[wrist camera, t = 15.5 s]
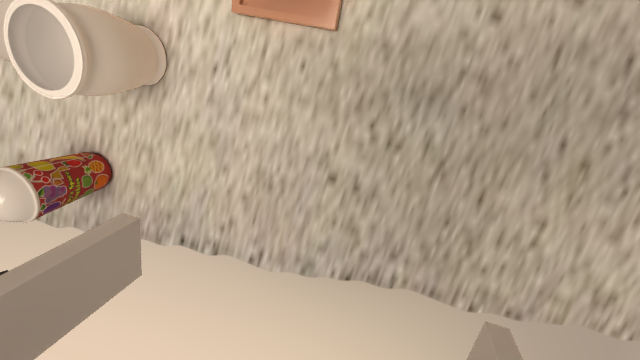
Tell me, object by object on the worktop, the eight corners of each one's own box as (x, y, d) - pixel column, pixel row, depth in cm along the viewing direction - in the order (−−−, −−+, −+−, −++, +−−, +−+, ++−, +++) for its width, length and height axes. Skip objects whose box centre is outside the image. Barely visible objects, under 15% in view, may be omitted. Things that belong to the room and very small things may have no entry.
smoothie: (117, 196, 58) (-14, 254, 39) (78, 180, 59) (-67, 229, 40) (119, 155, 55) (-21, 197, 36) (79, 139, 56) (-78, 171, 37)
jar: (185, 76, 47) (98, 76, 33) (137, 102, 51) (39, 112, 37) (151, 4, 45) (41, -27, 31) (102, 36, 48) (-16, 21, 34)
